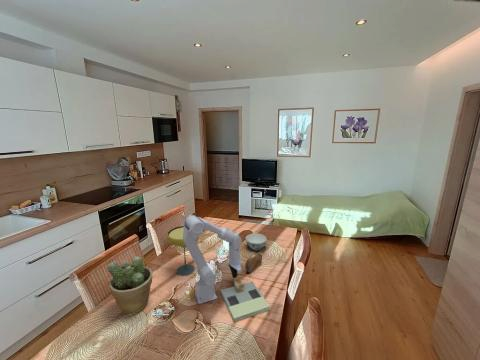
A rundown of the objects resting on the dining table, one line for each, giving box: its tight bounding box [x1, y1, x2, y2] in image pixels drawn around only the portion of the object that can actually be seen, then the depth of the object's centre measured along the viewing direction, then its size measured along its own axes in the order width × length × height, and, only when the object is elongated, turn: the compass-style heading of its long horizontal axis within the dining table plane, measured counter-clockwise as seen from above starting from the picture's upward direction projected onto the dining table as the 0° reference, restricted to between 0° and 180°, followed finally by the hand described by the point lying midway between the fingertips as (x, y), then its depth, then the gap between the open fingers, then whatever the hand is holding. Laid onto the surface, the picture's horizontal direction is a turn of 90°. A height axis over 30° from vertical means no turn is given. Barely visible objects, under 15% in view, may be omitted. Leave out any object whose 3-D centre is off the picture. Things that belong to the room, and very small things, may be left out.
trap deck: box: [220, 280, 271, 323], centre depth 108 cm, size 18×19×2 cm
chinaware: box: [245, 233, 268, 251], centre depth 157 cm, size 15×15×8 cm
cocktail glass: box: [166, 225, 200, 277], centre depth 130 cm, size 18×18×25 cm
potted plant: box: [106, 256, 153, 315], centre depth 103 cm, size 18×19×25 cm
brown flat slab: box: [244, 252, 263, 274], centre depth 134 cm, size 15×3×8 cm, turn 141°
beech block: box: [233, 279, 245, 293], centre depth 114 cm, size 4×4×4 cm
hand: (234, 277), depth 120 cm, fingers closed
